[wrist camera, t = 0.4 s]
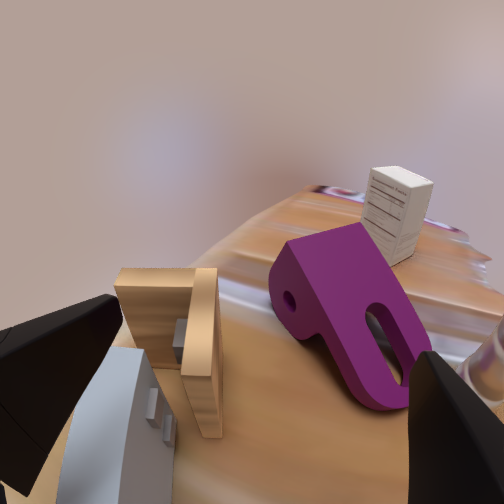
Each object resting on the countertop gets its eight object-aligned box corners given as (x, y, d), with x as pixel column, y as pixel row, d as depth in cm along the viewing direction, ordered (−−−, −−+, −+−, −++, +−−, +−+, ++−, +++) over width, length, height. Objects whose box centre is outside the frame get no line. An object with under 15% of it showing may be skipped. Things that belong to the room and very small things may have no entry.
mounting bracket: (393, 388, 28) (327, 262, 35) (444, 372, 21) (361, 221, 28) (333, 431, 24) (261, 283, 31) (383, 430, 17) (286, 240, 24)
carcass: (222, 438, 18) (210, 375, 13) (133, 431, 18) (81, 364, 12) (223, 353, 26) (217, 268, 20) (149, 350, 25) (121, 268, 20)
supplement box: (380, 234, 46) (397, 164, 39) (413, 256, 40) (436, 182, 33) (353, 244, 43) (369, 166, 35) (387, 269, 37) (412, 186, 30)
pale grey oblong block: (178, 532, 11) (127, 533, 6) (115, 520, 11) (35, 499, 5) (182, 420, 19) (152, 349, 14) (128, 414, 19) (79, 342, 14)
